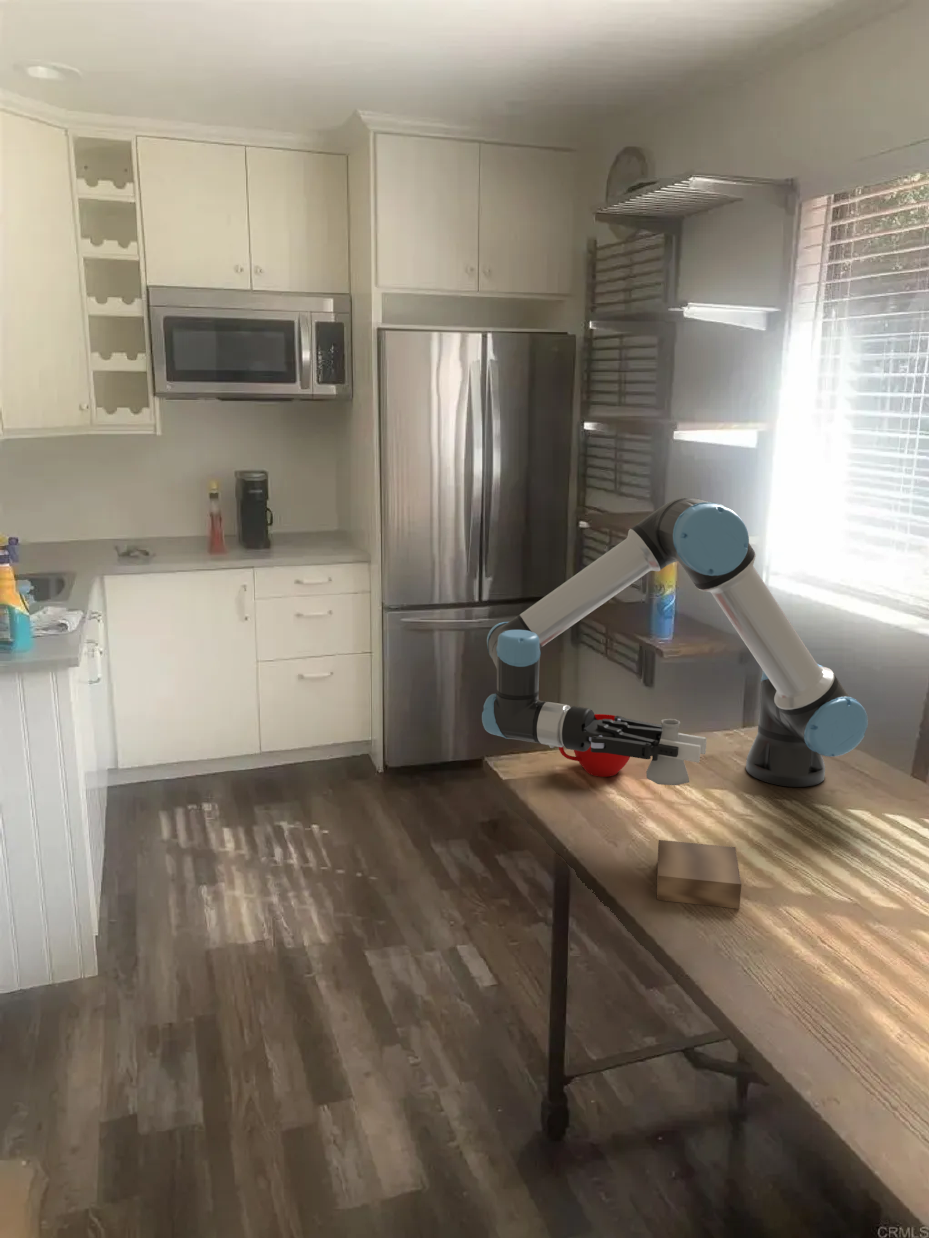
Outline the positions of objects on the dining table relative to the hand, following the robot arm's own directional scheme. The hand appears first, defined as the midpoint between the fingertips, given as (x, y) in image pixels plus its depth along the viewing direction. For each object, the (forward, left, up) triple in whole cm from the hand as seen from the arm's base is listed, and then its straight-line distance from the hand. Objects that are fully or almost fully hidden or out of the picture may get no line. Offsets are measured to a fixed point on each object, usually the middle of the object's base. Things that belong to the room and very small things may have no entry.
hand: (702, 749), depth 150 cm
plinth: (0, +11, -18) cm, 21 cm away
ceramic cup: (+19, -31, -18) cm, 41 cm away
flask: (+5, -1, -6) cm, 8 cm away
